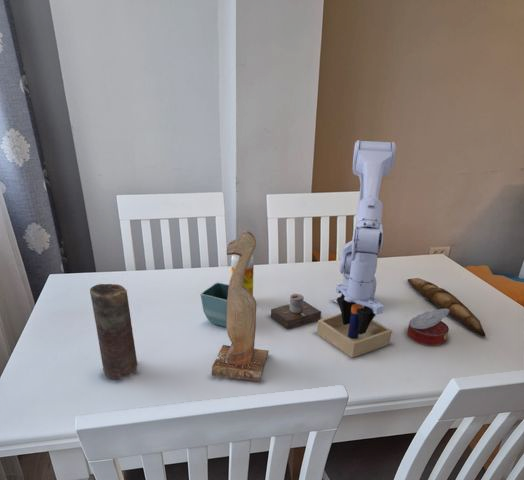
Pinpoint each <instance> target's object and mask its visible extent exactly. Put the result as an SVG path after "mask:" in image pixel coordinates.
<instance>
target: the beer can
mask: <svg viewBox="0 0 524 480" xmlns="http://www.w3.org/2000/svg"><path fill="white" fill-rule="evenodd" d="M254 258H255V257H254V255H253V254H252V256H251V258H250V261H249V264H248V266H247V269H246V273H245V276H244V282H243V286H244V287H245V288H246V289H247V290H248V291H249V292H250V293H251V294H252V295H253V296H254V269H255V268H254V266H255V265H254V263H255V262H254V261H255V259H254ZM230 259H231V264H230V265H231V268H230V269H231V275H232V274H233V271H234V269H235V267H236V264H237V262H238V259H239V255H236V254H233V255H231V257H230Z"/></svg>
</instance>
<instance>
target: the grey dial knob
mask: <svg viewBox="0 0 524 480" xmlns="http://www.w3.org/2000/svg"><path fill="white" fill-rule="evenodd" d="M304 299H305V298H304V295H303V294H300V293H293V294H290V295H289V304H290V308H289V310H290V311H291V312H293V313H300V312H302V311H303V301H305V300H304Z"/></svg>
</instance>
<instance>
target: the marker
mask: <svg viewBox="0 0 524 480" xmlns="http://www.w3.org/2000/svg"><path fill="white" fill-rule="evenodd" d="M361 308H363V306H362V305H360V304H353V305H352V307H351V317H350V324H349V331H348V337H349V338H351V339H357V338H358V335H359V334H358V314H357V309H361Z"/></svg>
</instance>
